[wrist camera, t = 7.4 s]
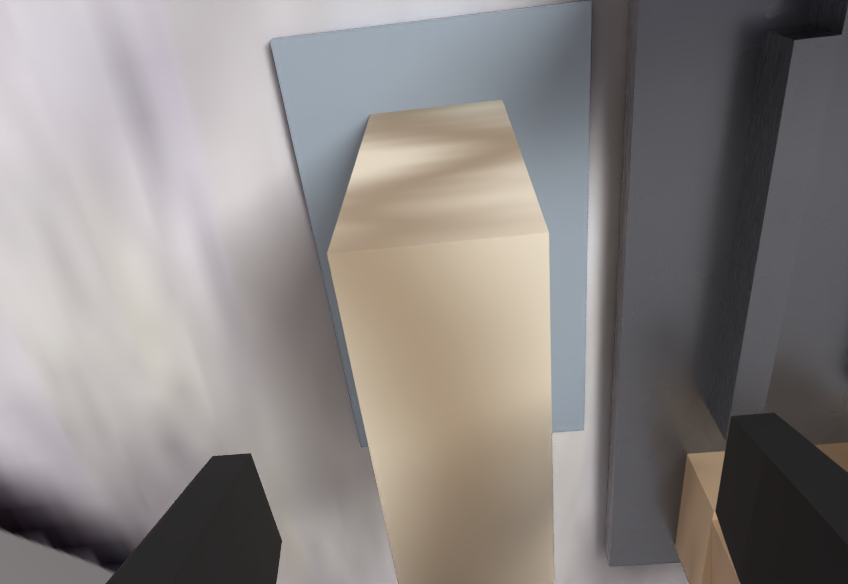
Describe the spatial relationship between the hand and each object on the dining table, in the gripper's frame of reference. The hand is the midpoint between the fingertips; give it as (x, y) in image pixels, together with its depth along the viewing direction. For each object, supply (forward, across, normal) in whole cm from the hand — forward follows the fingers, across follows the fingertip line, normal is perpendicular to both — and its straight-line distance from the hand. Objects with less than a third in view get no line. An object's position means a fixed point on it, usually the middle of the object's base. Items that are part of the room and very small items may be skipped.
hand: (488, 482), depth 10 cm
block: (+10, 0, +2) cm, 10 cm away
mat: (+10, 0, +2) cm, 10 cm away
